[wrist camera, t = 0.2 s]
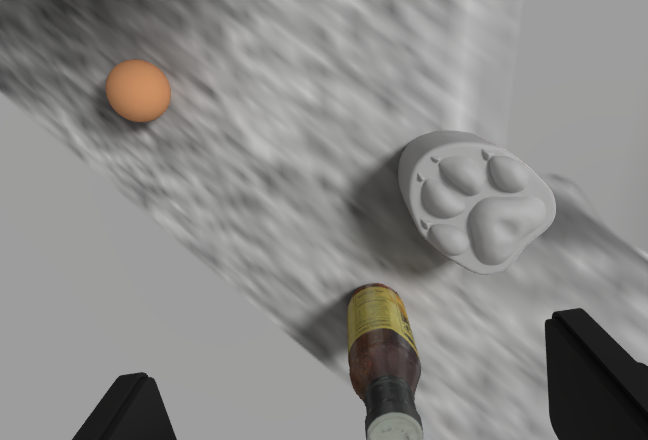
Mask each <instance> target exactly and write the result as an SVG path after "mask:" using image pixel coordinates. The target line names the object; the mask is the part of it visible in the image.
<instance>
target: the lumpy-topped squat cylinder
mask: <svg viewBox="0 0 648 440" xmlns="http://www.w3.org/2000/svg"><path fill="white" fill-rule="evenodd" d="M398 182H399V187H400V190H401V193H402V196H403V199H404V201H405V204H406V206H407V208H408V210H409V212H410V214H411V216H412V219H413V221H414V223H415V225H416V227H417V229H418V231H419V232H420V234H421V235H422V236H423V237H424V238H425V239H426V240H427V241H428V242H429V243H430V244H431V245H432V246H433V247H434V248H436V249H437V250H438V251H439V252H441V253H442V254H443V255H445V256H446V257H448V258H449V259H451V260H452V261H454V262H456V263H457V264H459V265H461V266H462V267H464V268H466V269H467V270H469V271H472V272H474V273H477V274H482V275H488V274H496V273H500V272H502V271H504V270H506V269H507V268H509V267H510V266H511V265H512V264H513V263H514V262H515V260H516V259H517V258H518V256H519V255H520V253H521V252H522V251H523V249H524V248H525V247H526V246H527V245H528V244H529V243H530V242H531V241H532V240H534V239H535V238H536V237H538V236H539V235H540V234H542V233H543V232H544V231H545V230H546V229H547V228H548V227H549V226H550V225H551V224H552V222H553V220H554V218H555V214H556V203H555V198H554V195H553V193H552V191H551V189H550V188H549V187H548V185H547V184H546V183H545V182H544V181H543V180H542V179H541V178H540V177H539V176H538V175H537V174H536V173H535V172H534V171H533V170H532V169H531V168H530V167H529V166H527V165H526V164H525V163H524V162H522V161H521V160H520V159H518V158H517V157H516V156H514V155H513V154H511V153H510V152H508V151H507V150H505V149H504V148H502V147H500V146H498V145H496V144H494V143H491V142H489V141H487V140H485V139H483V138H481V137H479V136H477V135H475V134H472V133H466V132H459V131H436V132H432V133H428V134H425V135H422V136H420V137H418V138H416V139H414V140H413V141H411V142H410V143H409V144H408V145H407V146H406V148H405V149H404V151H403V152H402V155H401V157H400V161H399V167H398Z"/></svg>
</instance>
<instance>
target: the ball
mask: <svg viewBox="0 0 648 440" xmlns="http://www.w3.org/2000/svg"><path fill="white" fill-rule="evenodd" d="M106 94H107V98H108V100H109V102H110V104H111V106H112V107H113V109H114V110H115V111H116V112H117V113H118V114H120V115H121V116H123V117H124V118H126V119H128V120H131V121H135V122H148V121H152V120H154V119H157V118H158V117H160V116H161V115H162V114H163V113H164V112H165V111H166V109H167V108H168V106H169V103H170V98H171V89H170V85H169V82H168V80H167V78H166V77H165V75H164V74H163V72H162V71H161V70H160V69H159V68H157V67H156V66H155V65H153V64H151V63H149V62H147V61H143V60H135V59H133V60H127V61H124V62H121V63H119V64H118V65H116V66H115V67H114V68H113V69H112V71H111V72H110V73H109V75H108V78H107V81H106Z"/></svg>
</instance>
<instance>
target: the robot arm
mask: <svg viewBox="0 0 648 440" xmlns="http://www.w3.org/2000/svg"><path fill="white" fill-rule="evenodd" d="M545 339H546V358H547V377H548V396H549V415H550V421H551V424H552V427H553V430H554V432H555V434H556V435H557V437H558V439H559V440H648V366H646V365H645V364H643V363H639V362H636V361H635V360H634V359H633V358H632V357H631V356H630V355H629V354H628V353H627V352H626V351H625V350H624V349H623V348H622V347H621V346H620V345H619V344H618V343H617V342H616V341H615V340H614V339H613V338H612V337H611V336H610V335H609V334H608V333H607V332H606V331H605V330H604V329H603V328H602V327H601V326H600V325H599V324H598V323H597V322H596V321H595V320H593V319H592V318H591V317H590V316H589V315H588V314H587V313H586V312H585V311H584V310H583V309H581V308H577V309H570V310H563V311H557V312H554V313H553V315H552V319H547V320H546V321H545ZM72 440H177V439H176V436H175V434H174V431H173V428H172V425H171V423H170V420H169V417H168V415H167V412H166V409H165V407H164V403H163V401H162V398H161V395H160V392H159V390H158V387H157V384H156V382H155V380H154V379H153V378H152V377H148V375H147V374H146V373H143V372H141V373H134V374H127V375H121V376H119V377H118V378H117V379H116V380H115V382H114V383H113V384H112V386H111V387H110V388H109V390H108V391H107V393H106V394H105V395H104V397H103V398H102V399H101V401H100V402H99V403H98V405H97V406H96V408H95V409H94V411H93V412H92V413H91V415H90V416H89V417H88V418H87V420H86V421H85V423H84V424H83V425H82V427H81V428H80V429H79V431H78V432H77V433H76V435H75V436H74V438H73V439H72Z"/></svg>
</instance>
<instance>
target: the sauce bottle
mask: <svg viewBox="0 0 648 440" xmlns="http://www.w3.org/2000/svg"><path fill="white" fill-rule="evenodd" d="M347 329H348V361H349V367H350V378H351V382H352V386H353V389H354V390H355V392H356V394H357V395H358V396H359V397H360V399H362V400H363V402H364V403H365V406H366V409H367V416H366V420H365V430H366V439H367V440H423V428H422V422H421V417H420V416H419V414H418V412H417V411H416V407H415V403H414V399H415V398H414V395H415V391H416V387H417V384H418V381H419V378H420V375H421V363H420V359H419V356H418V352H417V349H416V345H415V342H414V338H413V335H412V331H411V328H410V324H409V321H408V317H407V314H406V311H405V307H404V304H403V302H402V300H401V299H400V297H399V295H398V294H397V292H395V291H394V290H392V289H391V288H390V287H387V286H385V285H383V284H379V283H376V284H369V285H366V286H363V287H361V288H358V289H357V290H356V291H355V293H354V294H353V295H352V297H351V300H350V302H349V305H348V313H347Z"/></svg>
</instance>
